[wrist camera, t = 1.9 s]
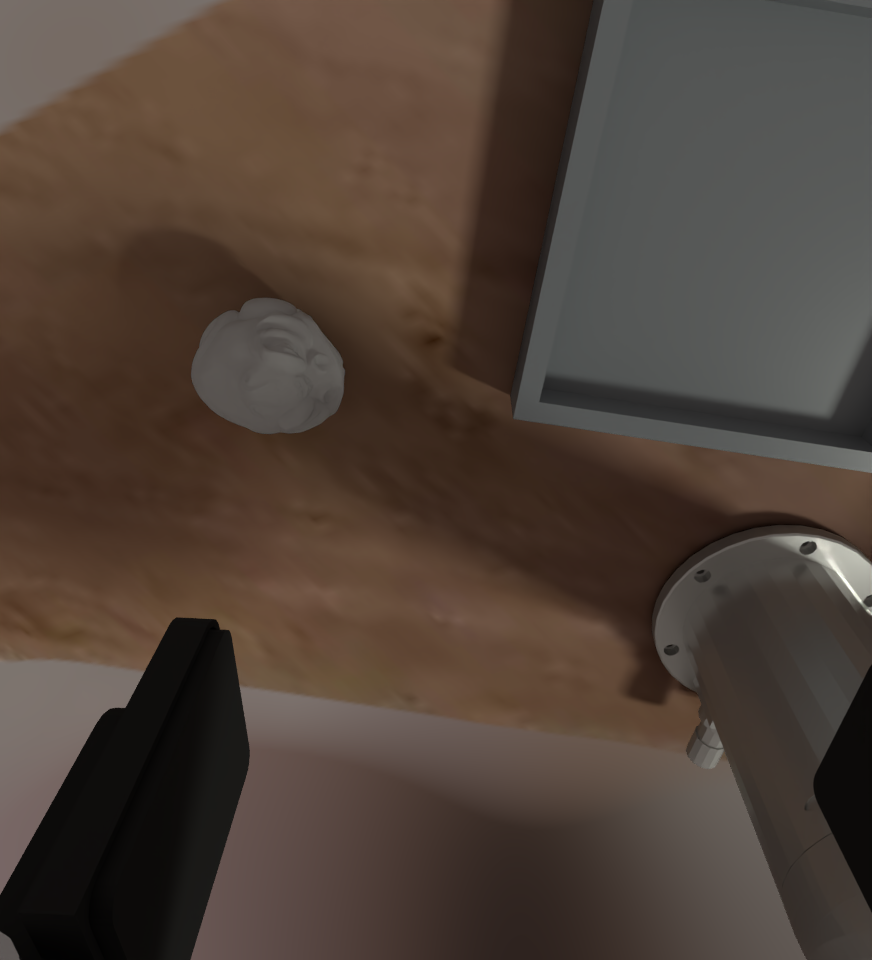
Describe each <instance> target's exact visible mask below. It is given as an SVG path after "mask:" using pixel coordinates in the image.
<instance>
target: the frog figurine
mask: <svg viewBox="0 0 872 960" xmlns="http://www.w3.org/2000/svg"><path fill="white" fill-rule="evenodd" d="M344 376H345V369H344V368H343V360H342V358H341V355H340V353H339V352H338V350H337V349H336V348H335V347H334V346H333V345H332V343H331V342H330V341H329V340H328V339H327V337H326V336H325V335H324V334H323V333H322V332H321V330H320V329H319V327H318V325H317V324H316V323H315V322H314V321H313V319H312V317H311V316H310V315H307V314H306V313H304V312H302V311H301V310H300V309H297V308H295V306H294V305H292V304H291V303H289V302H286V301H284V300H280V299H274V298H254V299H251V300H249V301H247V302H245V303H244V304H243V306H242V308H241V311H240V312H238V311H236V310H230V311H227V312H225V313H223V314H221V315H220V316H218V317H217V318H215V319H214V320H213V321H212V322H211V323H210V324H209V325H208V327H207V328H206V330H205V331H204V332H203V335H202V338H201V340H200V344H199V349H198V350H197V352H196V354H195V357H194V359H193V363H192V370H191V379H192V384H193V385H194V388H195V390H196V391H197V394H198V395H199V396H200V398H201V399H202V400H203V401H204V403H205V404H206V405H207V406H208V407H209V408H210V409H211V410H212V411H214V412H215V413H216V414H217V415H219V416H221V417H223V418H224V419H226V420H228V421H230V422H233V423H235V424H237V425H240V426H243V427H246V428H248V429H250V430H252V431H253V432H257V433H261V434H273V433H279V432H282V433H289V434H290V433H300V432H303V431H306V430H309V429H311V428H313V427H315V426H317V425H319V424H321V423H322V422H324V421H325V420H326V418H328V417H330V416H331V415H333V414H335V413H336V412H337V410H338V408H339V406H340V403H341V400H342V397H343V393H344Z"/></svg>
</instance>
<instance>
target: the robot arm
mask: <svg viewBox="0 0 872 960" xmlns="http://www.w3.org/2000/svg"><path fill="white" fill-rule="evenodd" d="M652 634H653V638H654V642H655V646H656V649H657V651H658V654H659V656H660V659H661V661H662V663H663V665H664V666H665V667H666V669H667V670H668V671H669V673H670V674H671V675H672V676H673V677H674V678H675V679H676V680H678V681H679V682H680V683H681V684H682V685H684V686H685V687H687V688H689V689H691V690H693V691H694V692H696V693H697V694H698V696H699V699H700V702H701V706H700V708H699V710H698V713H699V718H700V720H701V722H700V724H699V725H698V726H696V729H695V731H694V733H693V735H692V737H691V739H690V741H689V743H688V745H687V748H686V752H687V755H688V757H689V758H690V760H691V761H692V762H693V763H694V764H696V765H698V766H699V767H702V768H706V769H711V768H714V767H715V766H716V765H717V764H718V762H719V760H720V758H721V756H722V754H723V752H724V751H725V754H726V756H727V759H728V762H729V764H730V767H731V769H732V772H733V775H734V777H735V780H736V782H737V785H738V788H739V790H740V793H741V796H742V798H743V801H744V803H745V806H746V809H747V811H748V814H749V816H750V819H751V822H752V824H753V827H754V829H755V832H756V835H757V837H758V840H759V843H760V845H761V848H762V850H763V853H764V856H765V858H766V861H767V863H768V866H769V869H770V871H771V874H772V876H773V879H774V882H775V884H776V887H777V889H778V892H779V895H780V897H781V900H782V903H783V906H784V909H785V911H786V914H787V916H788V919H789V921H790V924H791V927H792V929H793V932H794V935H795V937H796V939H797V941H798V943H799V945H800V948H801V950H802V952H803V954H804V956H805V958H806V959H807V960H872V563H871V562H870V561H869V559H868V558H867V557H866V556H865V555H864V554H863V553H862V552H861V551H860V550H859V549H858V548H857V547H856V546H854V545H853V544H851V543H850V542H848V541H847V540H845V539H844V538H842V537H840V536H838V535H835V534H833V533H830V532H828V531H825V530H822V529H817V528H812V527H807V526H802V525H774V526H766V527H758V528H753V529H749V530H746V531H742V532H739V533H735V534H732V535H730V536H727V537H725V538H723V539H721V540H718V541H716V542H714V543H711V544H710V545H708V546H707V547H705V548H703V549H702V550H700V551H699V552H697V553H696V554H694V555H692V556H691V557H690V558H689V559H688V560H687V561H686V562H684V563H683V564H682V565H681V566H680V567H679V568H678V569H676V571H675V572H674V573H673V574H672V576H671V577H670V578H669V579H668V581H667V582H666V583H665V584H664V586H663V588H662V590H661V592H660V594H659V596H658V598H657V600H656V603H655V607H654V611H653V614H652ZM249 757H250V750H249V742H248V736H247V730H246V724H245V717H244V711H243V705H242V699H241V693H240V687H239V680H238V674H237V668H236V662H235V656H234V649H233V643H232V637H231V633H230V631H229V630H220V628H219V624H218V622H217V621H216V620H215V619H197V618H175V619H174V620H173V621H172V622H171V623H170V625H169V627H168V629H167V630H166V632H165V634H164V636H163V638H162V640H161V642H160V644H159V646H158V648H157V649H156V651H155V653H154V655H153V657H152V659H151V661H150V663H149V665H148V666H147V668H146V670H145V672H144V674H143V676H142V678H141V680H140V682H139V684H138V685H137V687H136V689H135V691H134V693H133V695H132V697H131V699H130V701H129V703H128V704H127V706H126V708H112V709H109V710H108V711H107V712H105V713H104V714H103V715H102V716H101V718H100V719H99V721H98V722H97V724H96V725H95V727H94V729H93V731H92V732H91V734H90V736H89V738H88V739H87V741H86V743H85V745H84V747H83V748H82V750H81V752H80V754H79V756H78V757H77V759H76V761H75V763H74V765H73V766H72V768H71V770H70V772H69V773H68V775H67V777H66V779H65V780H64V782H63V784H62V786H61V788H60V789H59V791H58V793H57V795H56V796H55V799H54V800H53V802H52V804H51V805H50V807H49V809H48V811H47V813H46V815H45V816H44V818H43V820H42V821H41V823H40V825H39V827H38V829H37V830H36V832H35V834H34V836H33V837H32V840H31V841H30V843H29V845H28V846H27V848H26V850H25V852H24V854H23V855H22V857H21V859H20V861H19V863H18V864H17V866H16V868H15V870H14V872H13V873H12V875H11V877H10V879H9V880H8V882H7V884H6V886H5V888H4V889H3V891H2V893H1V895H0V960H190V959H191V956H192V952H193V949H194V946H195V942H196V939H197V936H198V933H199V929H200V926H201V923H202V920H203V916H204V913H205V910H206V906H207V903H208V900H209V897H210V893H211V890H212V886H213V883H214V880H215V877H216V874H217V870H218V867H219V864H220V860H221V857H222V854H223V851H224V847H225V843H226V841H227V837H228V834H229V831H230V828H231V824H232V821H233V818H234V814H235V811H236V808H237V805H238V801H239V798H240V795H241V791H242V788H243V785H244V782H245V778H246V775H247V771H248V766H249Z"/></svg>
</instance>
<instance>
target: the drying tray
mask: <svg viewBox="0 0 872 960" xmlns="http://www.w3.org/2000/svg"><path fill="white" fill-rule="evenodd" d="M510 397H511V405H512V413H513V419H518V420H524V421H531V422H538V423H544V424H551V425H557V426H564V427H571V428H577V429H584V430H591V431H597V432H604V433H611V434H617V435H624V436H631V437H637V438H644V439H651V440H657V441H664V442H670V443H677V444H684V445H690V446H697V447H704V448H710V449H717V450H724V451H730V452H737V453H744V454H750V455H757V456H763V457H770V458H777V459H783V460H790V461H797V462H803V463H810V464H817V465H823V466H830V467H837V468H843V469H850V470H857V471H863V472H870V473H872V0H594V1H593V6H592V10H591V15H590V20H589V25H588V29H587V34H586V39H585V44H584V48H583V53H582V58H581V63H580V67H579V72H578V77H577V82H576V86H575V91H574V96H573V101H572V105H571V110H570V115H569V120H568V124H567V129H566V134H565V139H564V143H563V148H562V153H561V158H560V162H559V167H558V172H557V177H556V181H555V186H554V191H553V196H552V200H551V205H550V210H549V215H548V219H547V224H546V229H545V234H544V238H543V243H542V248H541V253H540V257H539V262H538V267H537V272H536V276H535V281H534V286H533V291H532V295H531V300H530V305H529V310H528V314H527V319H526V324H525V329H524V333H523V338H522V343H521V348H520V352H519V357H518V362H517V367H516V371H515V376H514V381H513V386H512V390H511V395H510Z"/></svg>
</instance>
